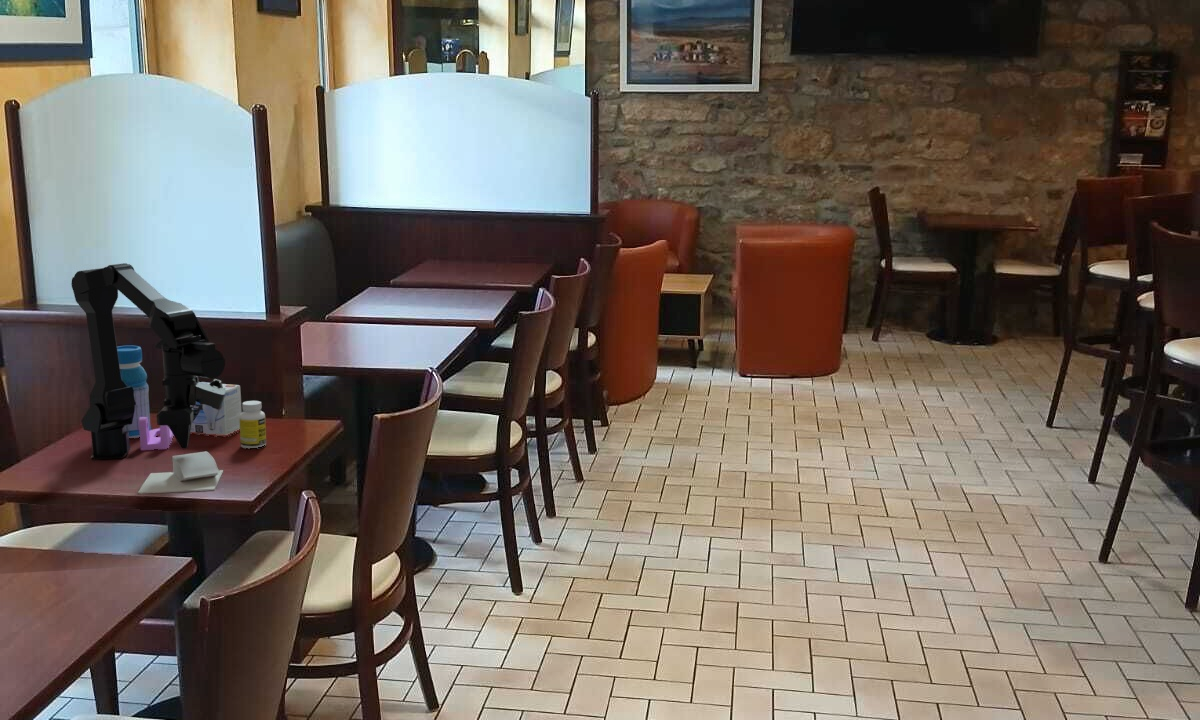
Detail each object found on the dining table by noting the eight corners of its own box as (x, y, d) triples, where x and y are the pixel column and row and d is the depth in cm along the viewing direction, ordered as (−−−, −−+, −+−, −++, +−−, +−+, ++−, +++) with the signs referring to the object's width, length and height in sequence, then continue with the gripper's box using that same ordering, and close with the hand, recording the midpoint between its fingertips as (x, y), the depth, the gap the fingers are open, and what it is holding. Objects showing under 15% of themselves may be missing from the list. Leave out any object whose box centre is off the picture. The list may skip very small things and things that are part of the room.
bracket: (168, 449, 248) (165, 418, 247) (140, 451, 247) (138, 419, 246) (175, 433, 261) (173, 403, 259) (149, 434, 260) (147, 405, 258)
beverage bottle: (143, 440, 255) (136, 352, 250) (105, 439, 255) (98, 351, 250) (157, 429, 263) (151, 344, 259) (120, 429, 263) (114, 344, 259)
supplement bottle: (262, 449, 248) (260, 405, 246) (237, 449, 248) (235, 405, 246) (269, 442, 254) (267, 399, 252) (245, 442, 254) (242, 399, 252)
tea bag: (172, 456, 230) (183, 469, 221) (206, 451, 233) (219, 464, 225) (173, 473, 230) (184, 487, 222) (207, 468, 234) (220, 482, 226)
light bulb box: (185, 433, 260) (182, 387, 258) (204, 426, 267) (201, 381, 264) (226, 437, 257) (223, 391, 255) (244, 430, 264) (241, 384, 261)
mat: (138, 493, 219) (137, 492, 219) (150, 474, 231) (150, 473, 231) (214, 490, 222) (214, 488, 221) (223, 471, 233) (223, 470, 233)
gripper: (214, 381, 219) (219, 460, 222) (228, 361, 237) (232, 434, 240) (153, 383, 217) (159, 462, 220) (171, 362, 235) (176, 436, 238)
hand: (184, 448), depth 230 cm, fingers closed
